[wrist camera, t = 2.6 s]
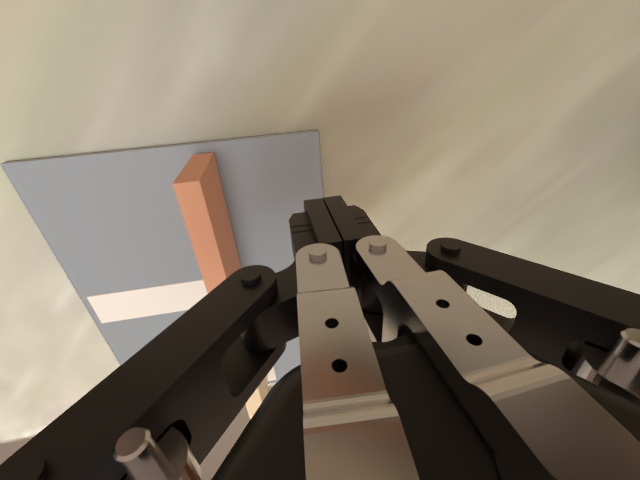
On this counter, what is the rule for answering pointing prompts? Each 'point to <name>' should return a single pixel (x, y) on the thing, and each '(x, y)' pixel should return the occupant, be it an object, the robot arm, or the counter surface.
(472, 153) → the counter surface
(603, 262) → the counter surface
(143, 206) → the slate board
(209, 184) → the salmon long narrow block
